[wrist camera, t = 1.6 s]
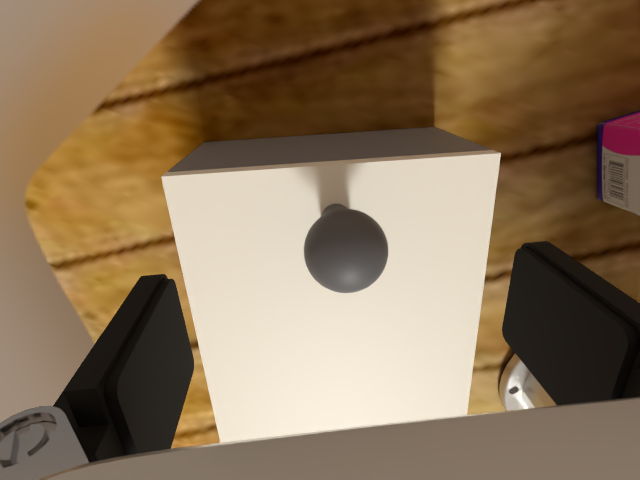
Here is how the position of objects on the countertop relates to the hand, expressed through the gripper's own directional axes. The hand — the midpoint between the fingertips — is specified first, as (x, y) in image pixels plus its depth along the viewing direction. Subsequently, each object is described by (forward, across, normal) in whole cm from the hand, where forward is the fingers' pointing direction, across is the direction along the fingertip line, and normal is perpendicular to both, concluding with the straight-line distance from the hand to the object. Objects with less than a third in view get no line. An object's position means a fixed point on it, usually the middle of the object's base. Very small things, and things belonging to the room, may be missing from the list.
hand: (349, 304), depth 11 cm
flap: (+9, -1, +7) cm, 11 cm away
